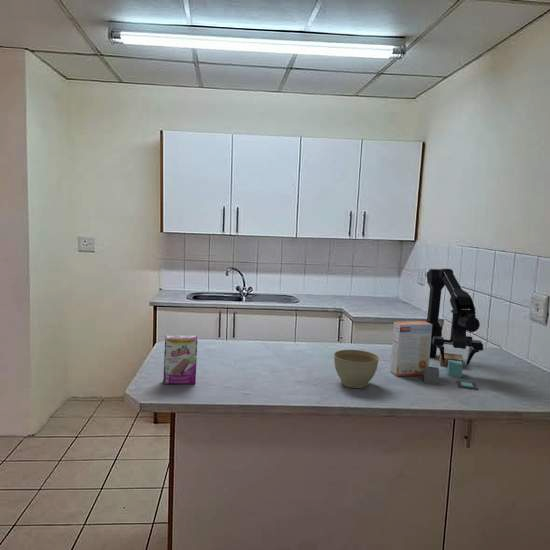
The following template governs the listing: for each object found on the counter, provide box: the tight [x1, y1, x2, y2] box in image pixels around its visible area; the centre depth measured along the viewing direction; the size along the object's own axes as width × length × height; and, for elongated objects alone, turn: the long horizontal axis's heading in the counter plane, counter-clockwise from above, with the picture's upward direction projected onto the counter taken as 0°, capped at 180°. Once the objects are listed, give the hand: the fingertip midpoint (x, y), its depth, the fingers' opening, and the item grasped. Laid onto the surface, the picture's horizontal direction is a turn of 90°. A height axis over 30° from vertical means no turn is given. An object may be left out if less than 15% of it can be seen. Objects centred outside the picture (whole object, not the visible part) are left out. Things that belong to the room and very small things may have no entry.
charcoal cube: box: [423, 366, 440, 385], centre depth 191 cm, size 5×5×5 cm
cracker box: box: [390, 320, 432, 377], centre depth 197 cm, size 14×6×21 cm, turn 103°
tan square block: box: [438, 351, 464, 368], centre depth 215 cm, size 9×9×4 cm
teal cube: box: [446, 360, 464, 378], centre depth 201 cm, size 5×5×5 cm
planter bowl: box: [333, 349, 380, 389], centre depth 182 cm, size 16×16×11 cm
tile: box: [455, 380, 479, 391], centre depth 188 cm, size 7×7×1 cm
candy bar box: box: [163, 334, 198, 385], centre depth 174 cm, size 11×5×16 cm, turn 102°
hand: (455, 363), depth 201 cm, fingers open, 9 cm apart
